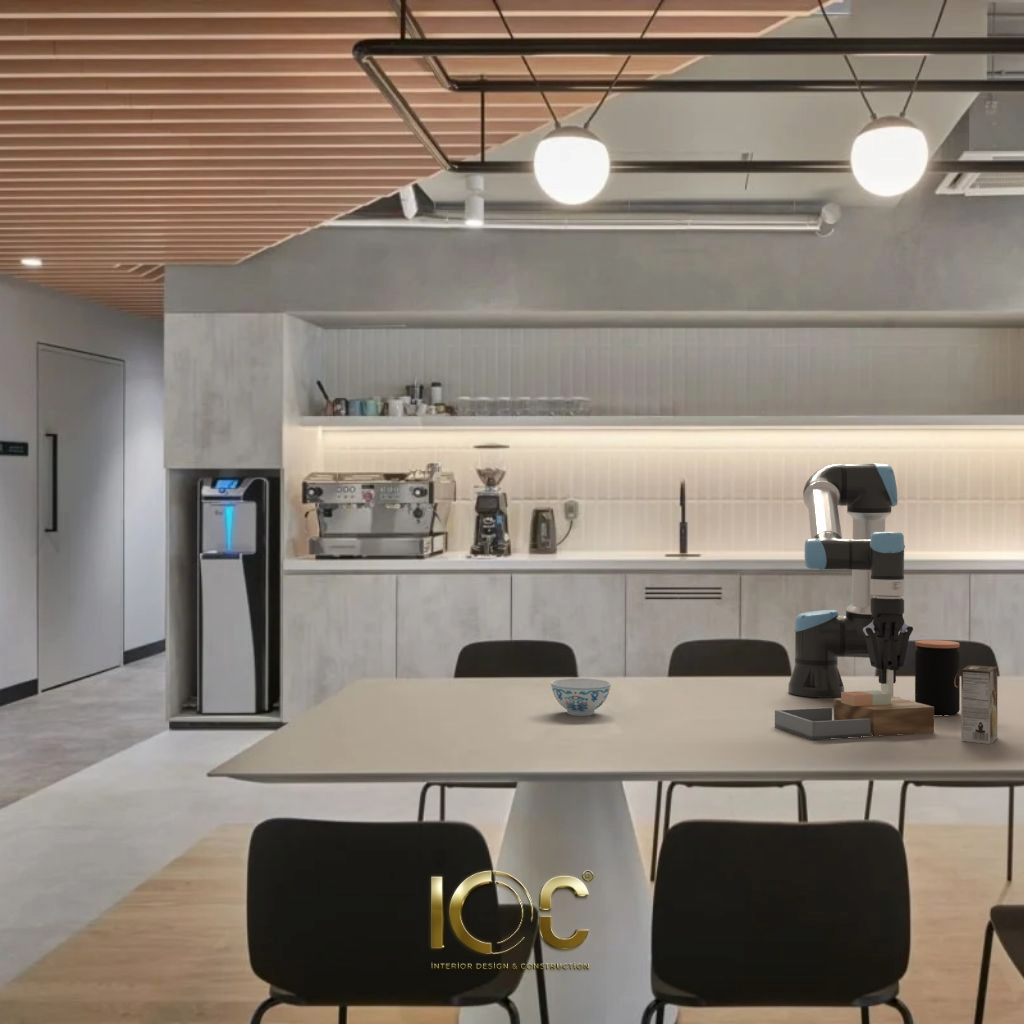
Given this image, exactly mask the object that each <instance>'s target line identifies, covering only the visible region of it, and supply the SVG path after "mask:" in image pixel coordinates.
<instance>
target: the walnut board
mask: <svg viewBox="0 0 1024 1024" xmlns="http://www.w3.org/2000/svg"><path fill="white" fill-rule="evenodd" d="M867 718H869V719H870V733H872V735H873V736H872V737H874V736H875V737H880V736H879V735H892V736H898V735H897V734H908V735H916V734H915V733H925V734H934V733H935V716H934V707H933V706H929V705H925V704H921V703H917V702H915V701H912V700H909V699H904V698H901V697H897V696H893V698H891V704H888V705H867V706H851V705H848V704H844V703H841V697H840V698H833V720H849V719H867ZM933 732H934V733H933Z"/></svg>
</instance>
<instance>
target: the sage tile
mask: <svg viewBox="0 0 1024 1024" xmlns="http://www.w3.org/2000/svg"><path fill="white" fill-rule="evenodd" d="M860 691H861V692H865V693H869V694H872V705H888V704H891V693H886V692H882V691H881V690H879V689H878V690H860Z"/></svg>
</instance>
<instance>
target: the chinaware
mask: <svg viewBox="0 0 1024 1024" xmlns="http://www.w3.org/2000/svg"><path fill="white" fill-rule="evenodd" d="M550 685H551V686H550V687H551V690H552V693H553V695H554V698H555V700H556V701H557V703H559V704H560V706H561V707H563V708H564V709H565V710H566V712H567V714H568V715H571V716H578V717H582V716H583V717H586V716H592V715H594V714H595V710H597V709H598V708H600V707H601V706H602V705H603V703H605V701H606V699H608V696H609V693H610V690H611V685H612V684H611V682H610V681H607V680H603V679H599V678H598V679H596V678H577V677H575V678H561V679H556V680H555V679H554V680H552V681H551V682H550Z"/></svg>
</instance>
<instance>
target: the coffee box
mask: <svg viewBox="0 0 1024 1024" xmlns="http://www.w3.org/2000/svg"><path fill="white" fill-rule="evenodd" d="M960 673H961V674H960V676H961V677H960V679H961V680H960V681H961V682H960V686H961V690H960V692H961V695H960V697H961V703H960V705H961V706H960V710H961V711H960V712H961V717H960V718H961V721H960V722H961V723H960V725H961V726H960V727H961V729H960V730H961V732H960V734H961V735H960V736H961V737H960V738H961V739H960V740H961V742H965V741H966V743H974V744H975V743H976V744H985V745H986V744H987V745H991V744H992V743H993V742H994V741H995V740H996V739H997V738H998V666H988V665H974V664H973V665H971V664H968V665H967V666H965V667H964V668H962V669H961V670H960Z"/></svg>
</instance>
